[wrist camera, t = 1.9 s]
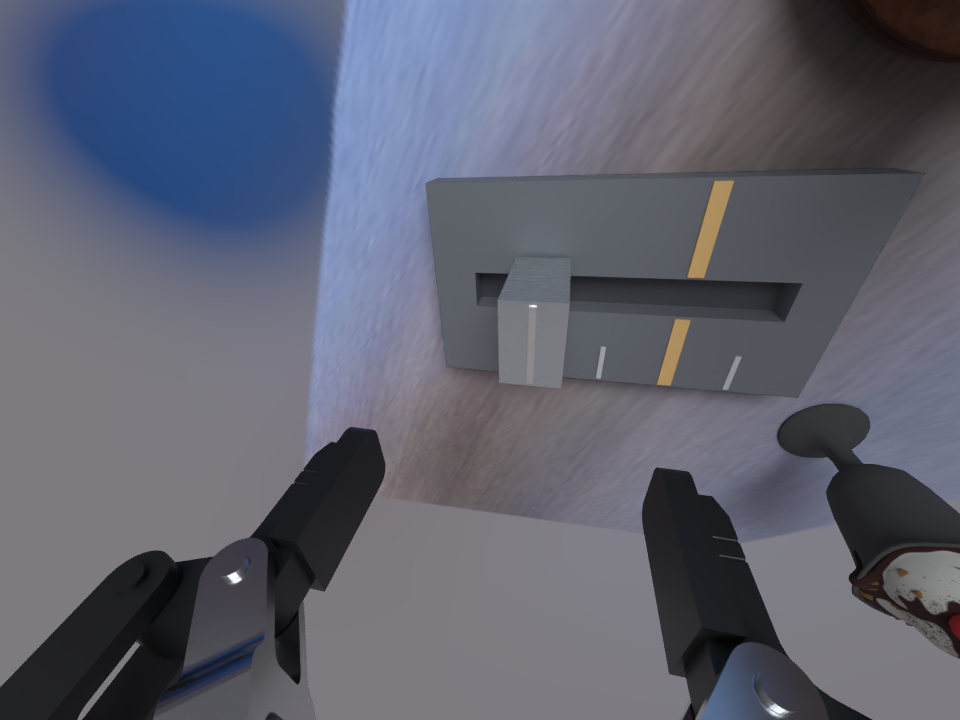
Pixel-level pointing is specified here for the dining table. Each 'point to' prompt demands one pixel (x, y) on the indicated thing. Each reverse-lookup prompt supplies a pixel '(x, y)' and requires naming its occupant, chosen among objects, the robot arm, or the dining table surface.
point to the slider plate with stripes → (670, 268)
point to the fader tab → (534, 321)
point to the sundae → (886, 526)
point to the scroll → (912, 26)
